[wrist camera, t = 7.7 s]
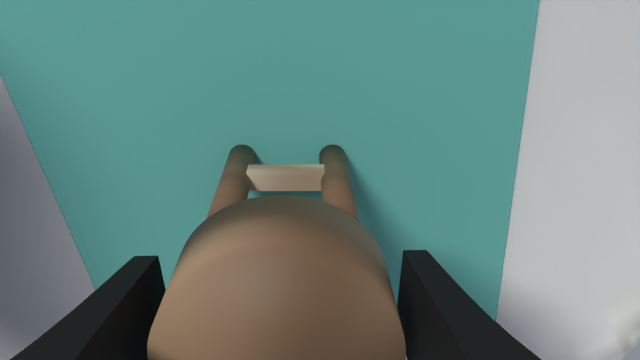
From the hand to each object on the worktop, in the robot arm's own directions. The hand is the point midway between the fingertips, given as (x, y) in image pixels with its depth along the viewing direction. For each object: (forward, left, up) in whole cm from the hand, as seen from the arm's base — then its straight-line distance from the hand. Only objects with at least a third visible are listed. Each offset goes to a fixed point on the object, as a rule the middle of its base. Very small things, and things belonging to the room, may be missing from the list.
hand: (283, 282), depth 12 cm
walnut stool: (0, 0, -4) cm, 4 cm away
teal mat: (0, 0, -5) cm, 5 cm away
